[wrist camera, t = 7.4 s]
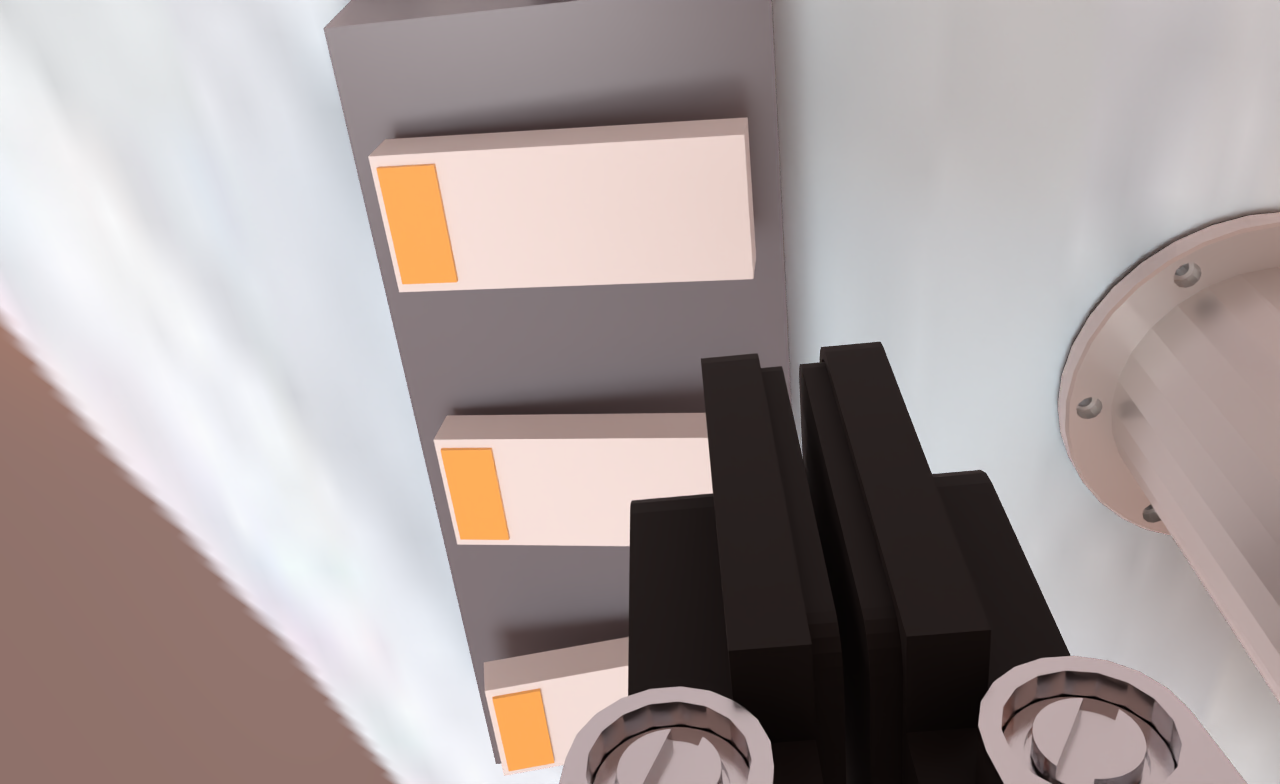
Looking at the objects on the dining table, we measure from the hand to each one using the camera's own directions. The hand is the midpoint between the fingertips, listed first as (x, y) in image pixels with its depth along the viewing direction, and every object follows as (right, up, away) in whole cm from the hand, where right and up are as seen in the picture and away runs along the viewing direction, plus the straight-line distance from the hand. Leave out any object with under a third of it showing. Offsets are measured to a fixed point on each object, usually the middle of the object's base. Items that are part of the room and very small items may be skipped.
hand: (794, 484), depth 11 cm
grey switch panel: (-3, +3, +30) cm, 30 cm away
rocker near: (-3, +6, +21) cm, 22 cm away
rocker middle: (-2, -2, +25) cm, 26 cm away
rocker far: (-2, -10, +30) cm, 31 cm away
